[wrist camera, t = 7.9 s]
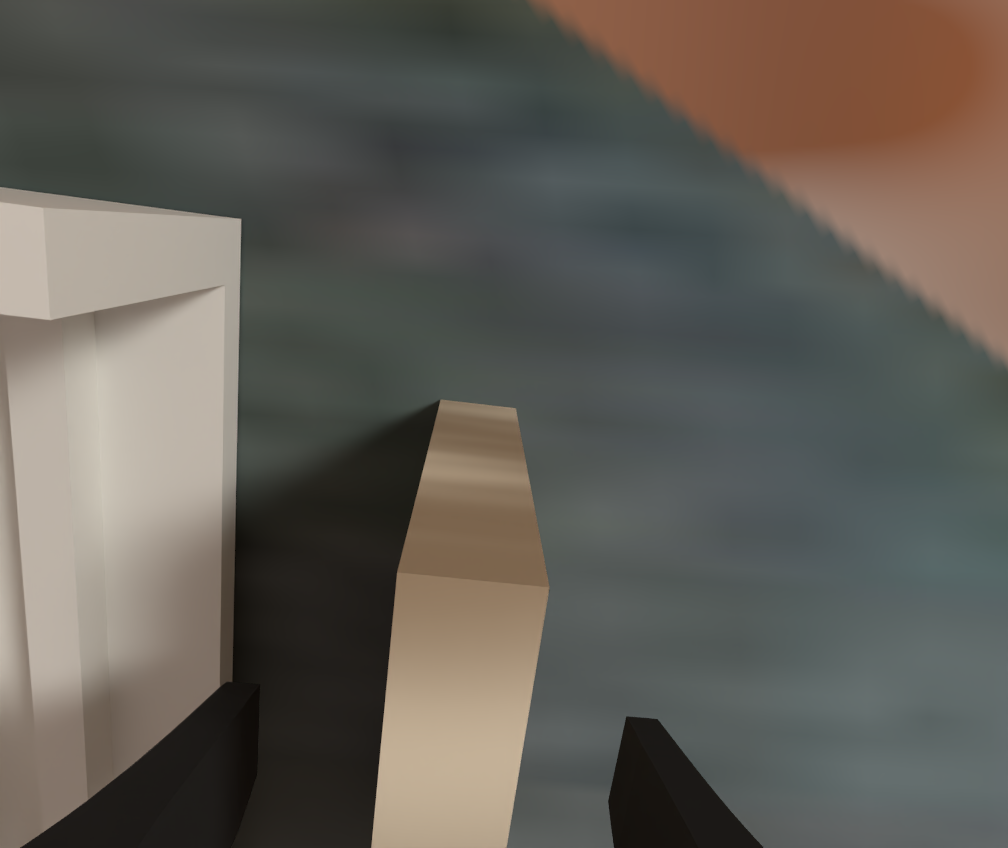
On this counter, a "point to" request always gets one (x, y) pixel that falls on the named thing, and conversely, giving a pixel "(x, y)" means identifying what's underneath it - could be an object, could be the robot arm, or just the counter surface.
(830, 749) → the counter surface
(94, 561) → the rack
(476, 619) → the tall sheet
